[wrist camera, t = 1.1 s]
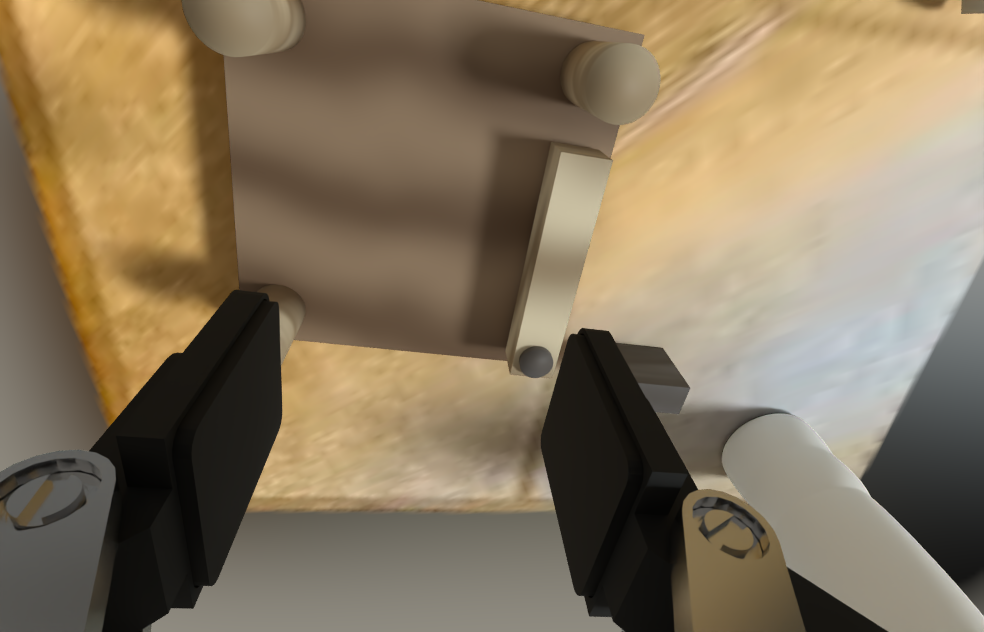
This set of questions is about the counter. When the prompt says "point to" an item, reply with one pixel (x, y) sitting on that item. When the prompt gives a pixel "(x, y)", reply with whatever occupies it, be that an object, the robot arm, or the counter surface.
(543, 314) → the hinged leg
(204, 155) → the counter surface
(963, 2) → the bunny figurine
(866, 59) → the counter surface
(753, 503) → the water bottle
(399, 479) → the counter surface
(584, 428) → the robot arm
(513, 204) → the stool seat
